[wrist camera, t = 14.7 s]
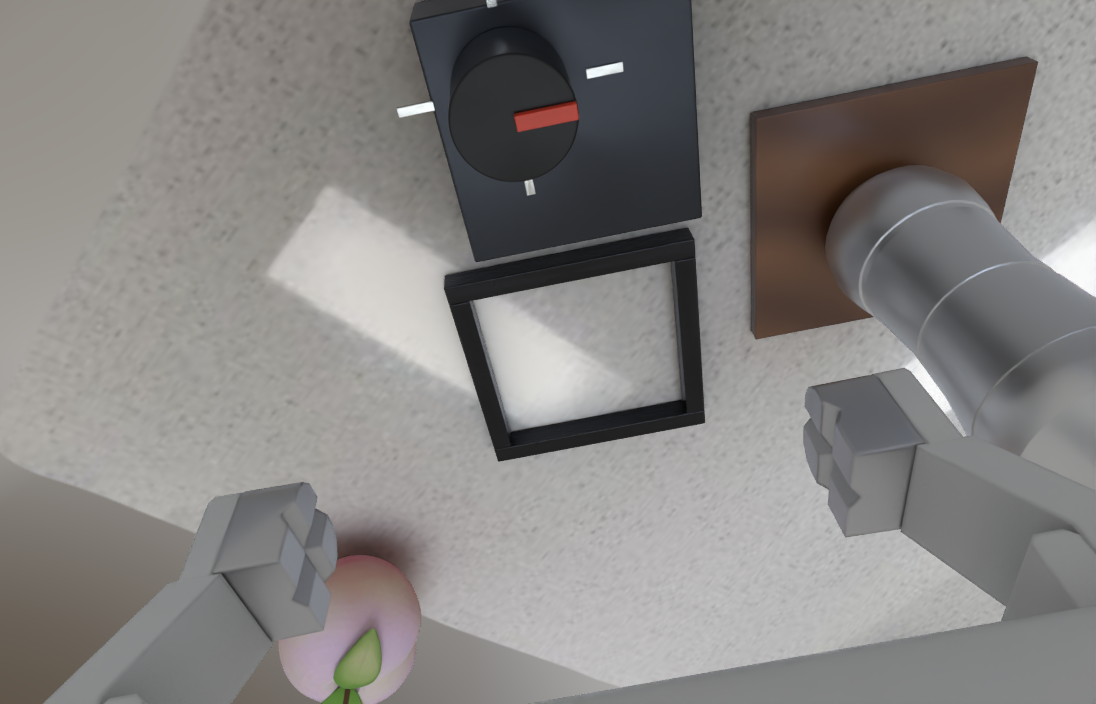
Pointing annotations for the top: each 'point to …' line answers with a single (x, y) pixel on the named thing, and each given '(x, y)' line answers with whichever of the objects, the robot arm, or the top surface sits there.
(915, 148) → the trivet
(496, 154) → the knob
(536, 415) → the top surface
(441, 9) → the panel
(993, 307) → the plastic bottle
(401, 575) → the decorative fruit
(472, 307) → the black flat square frame
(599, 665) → the top surface
